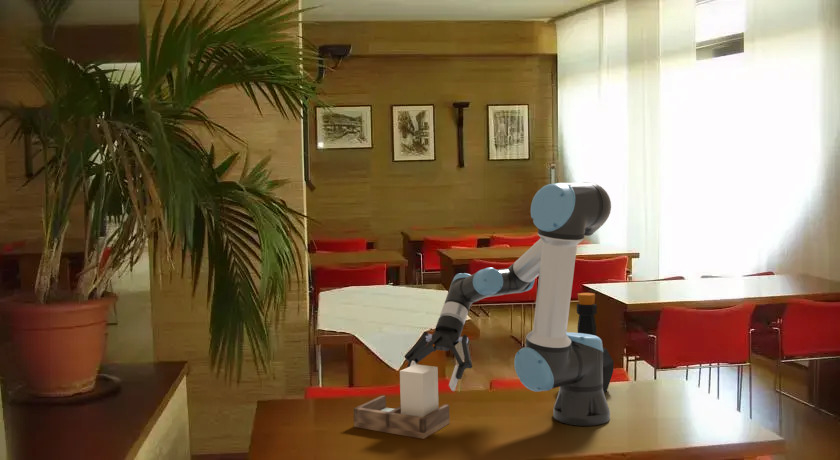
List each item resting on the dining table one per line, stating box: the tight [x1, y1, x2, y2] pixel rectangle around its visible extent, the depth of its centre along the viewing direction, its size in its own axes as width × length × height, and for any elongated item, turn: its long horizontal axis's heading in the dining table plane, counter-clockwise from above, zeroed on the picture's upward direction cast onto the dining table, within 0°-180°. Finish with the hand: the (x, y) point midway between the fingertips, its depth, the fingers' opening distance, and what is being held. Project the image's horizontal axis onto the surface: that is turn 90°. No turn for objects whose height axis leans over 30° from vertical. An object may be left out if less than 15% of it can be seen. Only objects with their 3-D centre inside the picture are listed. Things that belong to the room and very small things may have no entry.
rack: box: [353, 395, 451, 440], centre depth 201 cm, size 22×14×5 cm, turn 60°
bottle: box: [576, 292, 615, 393], centre depth 231 cm, size 16×16×30 cm
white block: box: [399, 363, 440, 417], centre depth 199 cm, size 7×8×14 cm
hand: (429, 386), depth 204 cm, fingers open, 13 cm apart
